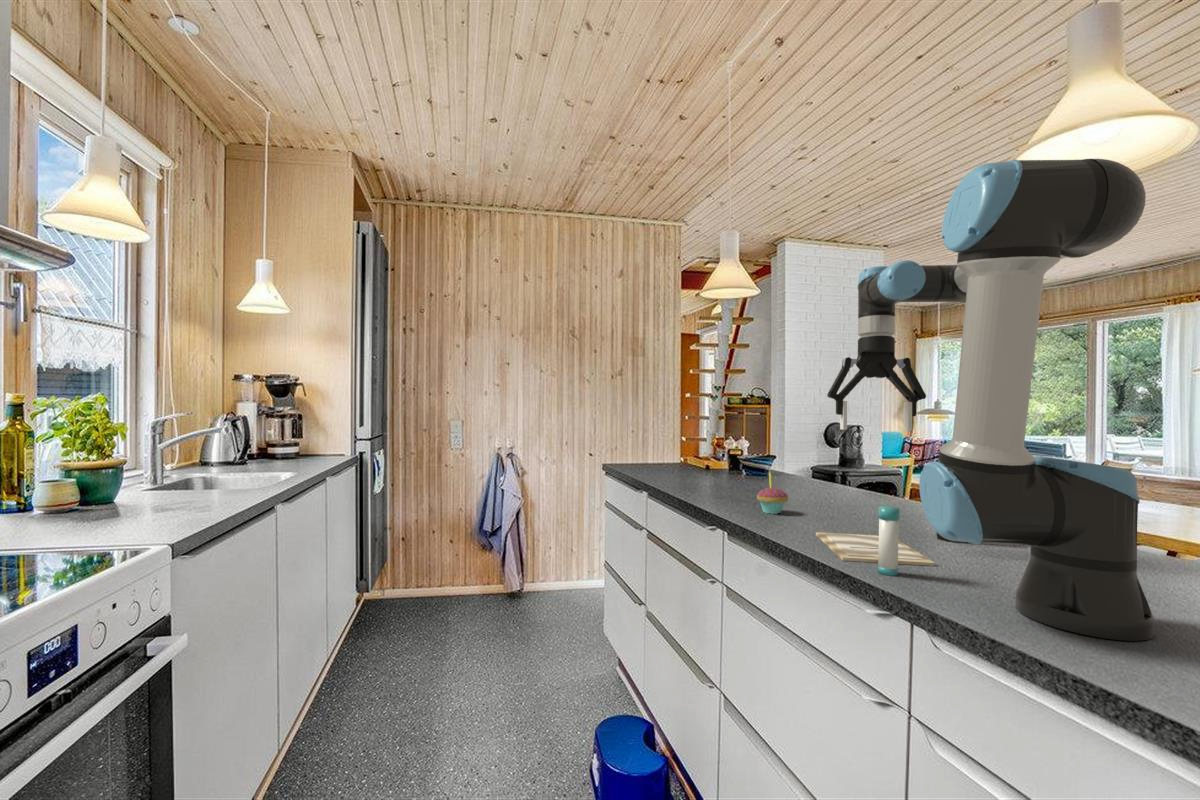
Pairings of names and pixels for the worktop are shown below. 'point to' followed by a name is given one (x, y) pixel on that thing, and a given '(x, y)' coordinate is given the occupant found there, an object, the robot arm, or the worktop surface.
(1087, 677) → the worktop surface
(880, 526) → the marker
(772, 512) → the cupcake
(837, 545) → the wooden board
